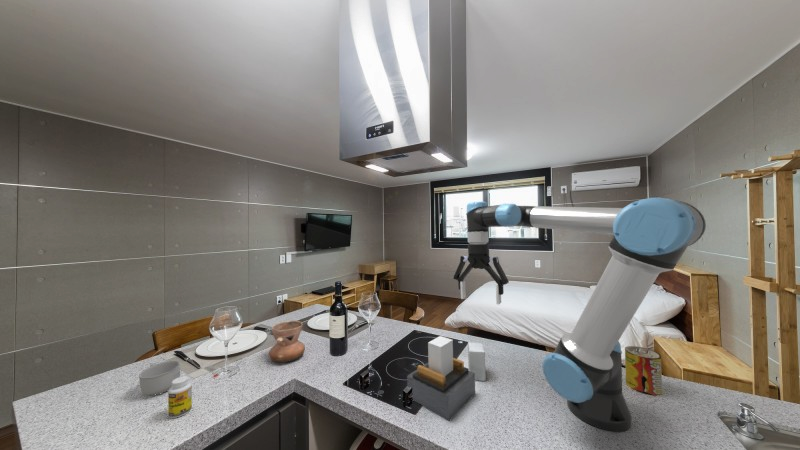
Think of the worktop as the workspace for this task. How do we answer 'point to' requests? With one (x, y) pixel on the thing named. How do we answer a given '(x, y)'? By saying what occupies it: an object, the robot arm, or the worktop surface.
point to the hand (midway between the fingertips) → (480, 300)
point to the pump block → (441, 355)
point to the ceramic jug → (287, 341)
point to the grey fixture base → (442, 388)
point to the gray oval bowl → (159, 377)
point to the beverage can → (643, 370)
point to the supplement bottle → (179, 397)
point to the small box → (477, 360)
